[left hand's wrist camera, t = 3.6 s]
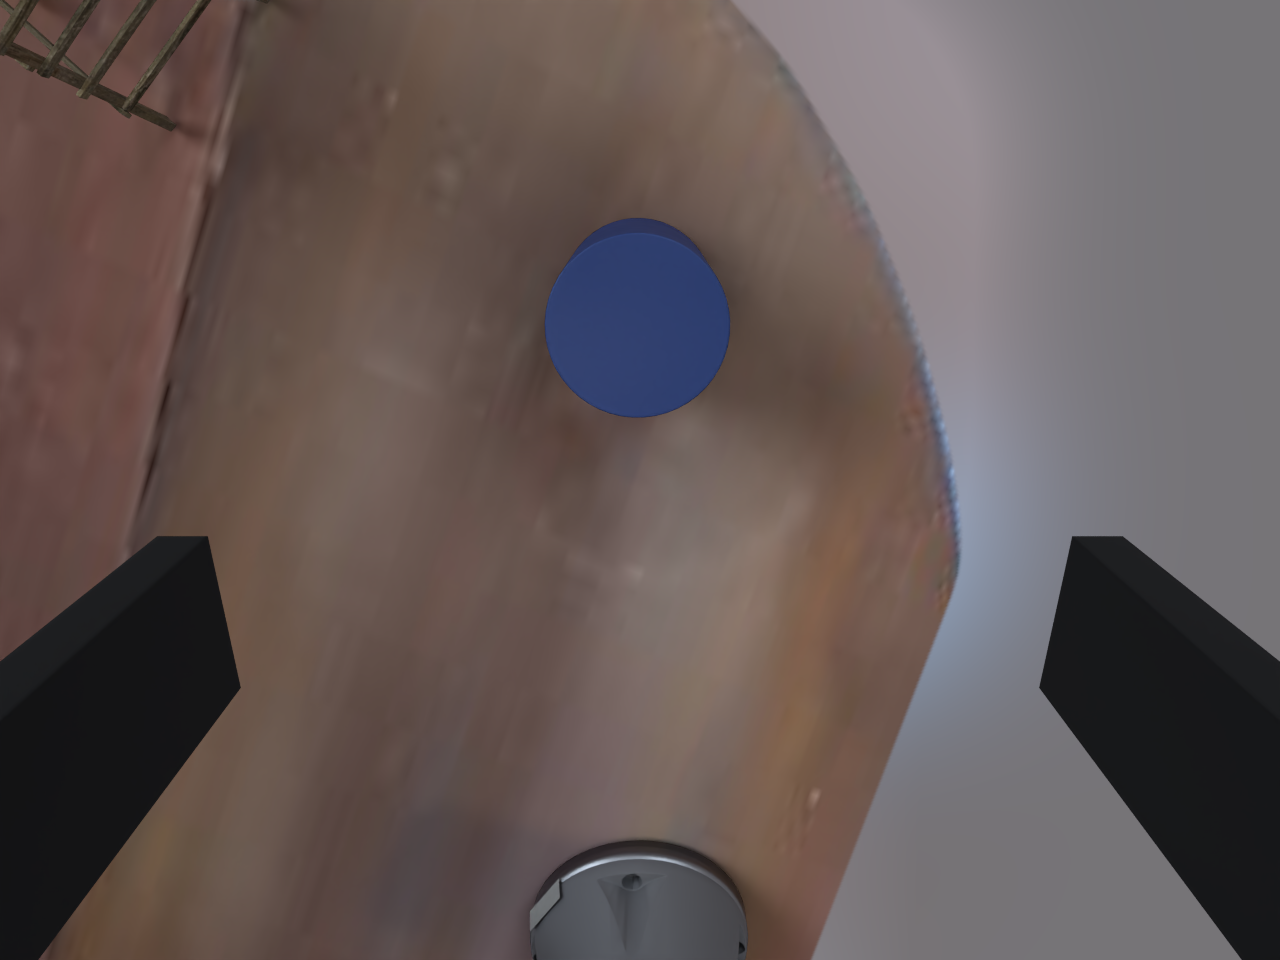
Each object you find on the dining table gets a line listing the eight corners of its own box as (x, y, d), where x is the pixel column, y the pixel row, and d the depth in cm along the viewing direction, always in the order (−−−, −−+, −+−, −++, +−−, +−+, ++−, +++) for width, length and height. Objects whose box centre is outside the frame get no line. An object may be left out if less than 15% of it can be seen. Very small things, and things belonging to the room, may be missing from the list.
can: (600, 190, 41) (591, 198, 33) (740, 260, 42) (763, 284, 34) (538, 332, 43) (516, 371, 35) (671, 394, 45) (678, 446, 37)
